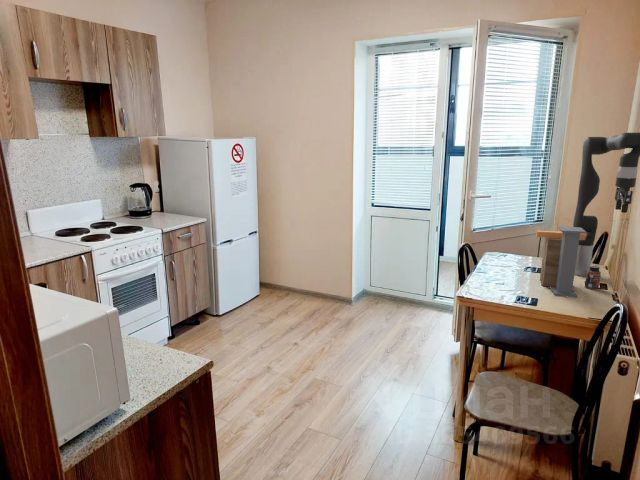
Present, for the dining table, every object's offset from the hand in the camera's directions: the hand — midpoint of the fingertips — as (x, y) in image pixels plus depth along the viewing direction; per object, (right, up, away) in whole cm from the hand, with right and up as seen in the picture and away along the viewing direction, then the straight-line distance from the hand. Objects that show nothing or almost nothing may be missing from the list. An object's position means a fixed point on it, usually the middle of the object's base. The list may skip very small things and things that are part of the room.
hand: (621, 211), depth 202 cm
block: (-20, -13, +17) cm, 29 cm away
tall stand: (-22, -40, +10) cm, 47 cm away
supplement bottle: (-4, -39, +16) cm, 42 cm away
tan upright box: (-20, -37, +22) cm, 48 cm away
